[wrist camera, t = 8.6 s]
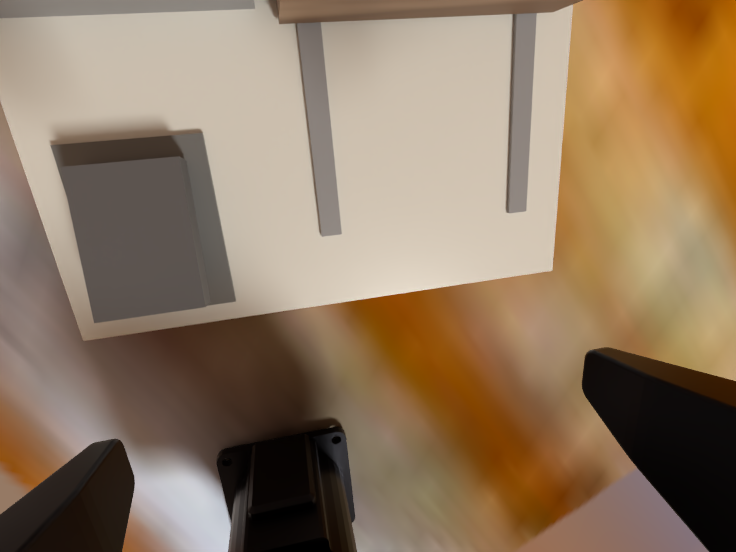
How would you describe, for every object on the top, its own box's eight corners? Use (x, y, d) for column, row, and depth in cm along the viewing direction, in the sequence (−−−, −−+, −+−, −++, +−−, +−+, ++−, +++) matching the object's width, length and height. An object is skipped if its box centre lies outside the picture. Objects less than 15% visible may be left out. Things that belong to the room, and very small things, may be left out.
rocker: (210, 301, 16) (205, 307, 15) (106, 316, 15) (94, 323, 14) (186, 160, 15) (179, 156, 14) (76, 170, 14) (60, 166, 13)
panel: (528, 258, 22) (580, 285, 18) (102, 319, 18) (59, 368, 15) (560, -293, 15) (655, -433, 11) (-113, -351, 12) (-295, -574, 8)
